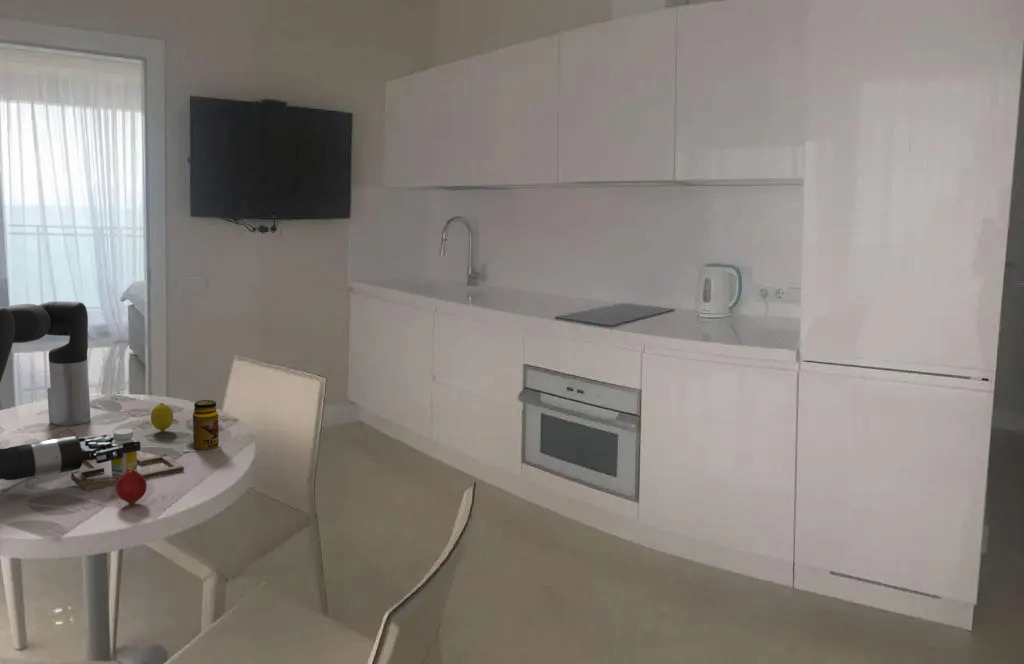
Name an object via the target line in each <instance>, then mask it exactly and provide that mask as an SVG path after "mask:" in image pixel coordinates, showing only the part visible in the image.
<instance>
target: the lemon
mask: <svg viewBox="0 0 1024 664" xmlns="http://www.w3.org/2000/svg"><path fill="white" fill-rule="evenodd" d="M150 421H151V425H152V426H153V428H154V429H156V430H159V431H160V432H162V433H163V431H164V432H165V431H166V430H167V429H169V428H170V427H171V426H172V425H173V423H174V422H173V421H174V412H173V410H172V408H171V406H169V405H168V404H166V403H164V402H160V403H159V404H156V405H155V406H154V407H153V408H152V411H151V413H150Z"/></svg>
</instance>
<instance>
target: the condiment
mask: <svg viewBox="0 0 1024 664" xmlns="http://www.w3.org/2000/svg"><path fill="white" fill-rule="evenodd" d="M193 407H194V409H193V413H192V429H193V430H192V432H193V433H192V437H193V441H189V442H186V445H185V447H184V449H183V451H182V453H186V452H187V453H188V452H189V453H190V452H191V453H192V452H195V453H196V452H200V453H201V452H205V453H206V452H219V450H220V448H221V445H222V443H223V442H222V441H220V439H219V437H220V436H219V413H218V411H217V410H218V408H217V402H216V401H215V400H212V399H202V400H197V401H195V402H194V404H193ZM219 446H220V447H219Z"/></svg>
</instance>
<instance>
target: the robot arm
mask: <svg viewBox="0 0 1024 664" xmlns="http://www.w3.org/2000/svg"><path fill="white" fill-rule="evenodd" d="M88 314H89V313H88V310H87V307H86V305H85V304H84V303H83V302H80V301H58V300H57V301H56V300H55V301H48V302H45V303H40V304H39V305H38V304H33V303H23V304H21V303H20V304H14V305H9V306H8V305H7V306H0V383H1V382H2V380H3V376H4V373H5V370H6V367H7V363H8V360H9V357H10V354H11V350H12V348H13V344H17V343H18V344H19V343H20V344H21V343H29V342H34V341H38V340H40V339H42V338H43V337H45V336H46V335H47V336H57V337H59V336H61V337H63V336H65V337H69V340H68V343H66V344H65V345H62V346H58V347H54V348H53V349H50V350H49V351H48V368H49V383H50V384H49V385H50V387H47V406H48V408H47V409H48V422H49V423H52V424H54V425H57V426H75V425H76V426H77V425H82V424H85V423H88V422H90V421H91V402H90V401H91V400H90V388H89V387H90V386H89V385H90V384H89V383H90V382H89V381H90V380H89V365H88V364H89V363H88V348H89V340H88V335H89V334H88V331H89V330H88V328H89V327H88V326H89V316H88ZM113 440H114V435H108V434H99V435H89V436H88V435H87V436H80V437H78V436H76V435H71V436H64V437H62V436H61V437H58V438H57V437H56V438H52V439H44V440H40V441H37V442H33V443H28V444H21V445H14V446H9V447H5V448H0V480H5V481H15V480H22V479H26V478H31V477H39V476H41V477H42V476H49V475H54V474H59V473H64V472H65V473H66V472H70V471H71V472H72V471H78V470H80V469H81V467H82V465H83V461H84V460H90V461H93V460H95V461H96V463H99V464H100V465H101V464H103V463H107V462H111V460H115V459H119V458H123V454H124V453H129V452H134V451H137V452H139V451H141V448H142V447H141V446H142V445H141V441H139V440H136V441H133V442H127V443H122V444H121V443H120V444H112V443H111V442H112V441H113ZM114 451H117V452H114Z"/></svg>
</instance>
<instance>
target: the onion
mask: <svg viewBox="0 0 1024 664" xmlns="http://www.w3.org/2000/svg"><path fill="white" fill-rule="evenodd" d="M140 473H141V472H138V471H137V470H136V471H134V469H132V468H128V469H127V472H126V473H124V474H123V475H120V478H119V477H118V478H119V479H118V481H117V484H116V485H115V492H116V495H117V496H118V498H119V499H121V500H122V501H124V502H125V503H127V504H128V505H133V504H136V503H137V502H138V501H140V500H141V499H142V498H143V496H144V495H145V493H146V492H147V480H146V479H145V478H144V477H143V476H142V475H141V474H140Z"/></svg>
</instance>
